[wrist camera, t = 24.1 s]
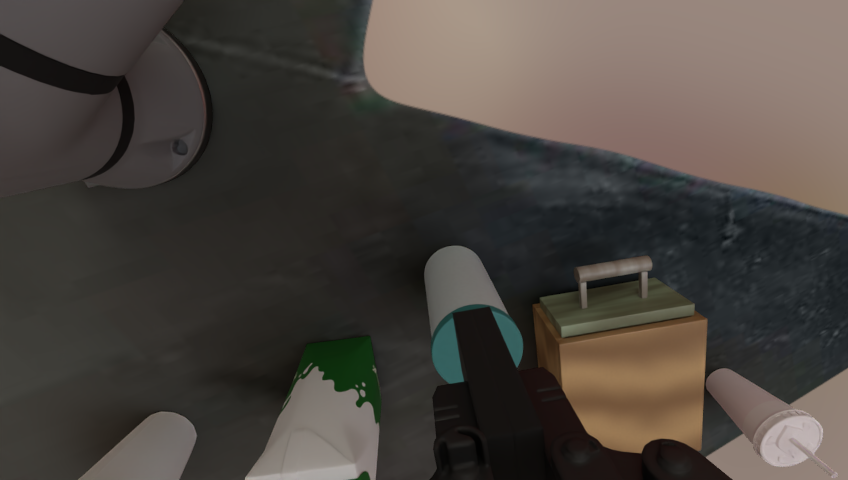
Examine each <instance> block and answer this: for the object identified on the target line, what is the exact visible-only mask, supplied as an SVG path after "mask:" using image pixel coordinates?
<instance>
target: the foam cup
mask: <svg viewBox="0 0 848 480" xmlns="http://www.w3.org/2000/svg"><path fill="white" fill-rule="evenodd" d="M196 437H197V434H196V431H195V428H194V425H193V424H192V423H191V422H190V421H189V420H188V419H187V418H186V417H184V416H181V415H179V414H177V413H174V412H163V411H161V412H158V413H155V414H152V415H150V416H149V417H148V418H146V419H145V420H144V421H143V422H142V423H140V424H139V425H138V426H137V427H136V428H135V429H134V430H133V431H132V432H130V433H129V434H128V435H127V436H126V437H125V438H124V439H123V440H122V441H121V442H119V443H118V444H117V445H116V446H115V447H114V448H113V449H112V450H111V451H109V452H108V453H107V454H106V455H105V456H104V457H103V458H102V459H101V460H99V461H98V462H97V463H96V464H95V465H94V466H93V467H92V468H91V469H90V470H88V471H87V472H86V473H85V474H84V475H83V476H82V477H81V478H80V479H78V480H179V479H180V477H181V475H182V472H183V470H184V468H185V466H186V463H187V461H188V459H189V456H190V454H191V452H192V450H193V446H194V445H195V441H196Z"/></svg>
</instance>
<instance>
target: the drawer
mask: <svg viewBox="0 0 848 480" xmlns="http://www.w3.org/2000/svg"><path fill="white" fill-rule="evenodd" d="M651 269H652V261H651V259H650V257H649V256H647V255H645V256H639V257H633V258H627V259H621V260H616V261H610V262H604V263H598V264H592V265H587V266H581V267H575V268H574V277H575V279H576V281H577V282H578V288H579V291H575V292H569V293H563V294H557V295H552V296H546V297H540V307H541V309H542V310H543V312H544V313H545V315H546V316H547V317H548V319H549V320H550V322H551V323H552V325H553V326H554V327H555V329H556V330H557V332H558V333H559V335H560V336H561V337H562V338H570V337H576V336H582V335H588V334H594V333H599V332H605V331H611V330H617V329H623V328H628V327H634V326H640V325H646V324H652V323H658V322H663V321H669V320H672V319H675V318H681V317H686V316H692V315H694V306H695V304H694V303H692V302H691V301H689V300H688V299H686V298H685V297H683V296H682V295H680V294H679V293H677V292H676V291H674V290H673V289H671V288H670V287H668V286H667V285H665V284H663V283H662V282H660V281H659V280H657V279H656V278H650V279H648V274H647V271H650V270H651ZM638 272H639V281H633V282H627V283H621V284H615V285H610V286H604V287H598V288H592V289H586V281H592V280H598V279H603V278H609V277H615V276H621V275H627V274H632V273H638Z"/></svg>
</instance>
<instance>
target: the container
mask: <svg viewBox="0 0 848 480" xmlns="http://www.w3.org/2000/svg"><path fill="white" fill-rule="evenodd" d="M424 279H425V288H426V296H427V304H428V312H429V320H430V328H431V336H432V340H431V353H432V360H433V364H434V366H435V368H436V370H437V372H438V373H439V374H440V376H441V377H442V378H443V379H445V380H446V381H447V382H448V383H450V384H452V383H458V382H464V379H463V374H462V369H461V363H460V357H459V351H458V345H457V339H456V332H455V326H454V320H453V314H452V313H454V312H460V311H466V310H472V309H478V308H483V307H489V306H490V308H491V311H492V313H493V315H494V317H495V320H496V322H497V324H498V327H499V329H500V331H501V333H502V336H503V338H504V340H505V342H506V345H507V347H508V349H509V352H510V354H511V356H512V358H513V361H514V363H515V365H516V367H518V365H519V363H520V361H521V358H522V354H523V340H522V336H521V333H520V331H519V329H518V328H517V326H516V324H515V322H514V321H513V319H512V318H511V317H510V316H509V315H508V313H507V311H506V309H505V307H504V305H503V303H502V301H501V299H500V297H499V295H498V293H497V291H496V289H495V287H494V285H493V283H492V282H491V280H490V278H489V276H488V274H487V272H486V270H485V268H484V266H483V264H482V262H481V260H480V258H479V257H478V256H477V255H476V254H475V253H474V252H473V251H472V250H470V249H468V248H466V247H462V246H448V247H444V248H442V249H440V250H438V251H437V252H435V253H434V254H433V255H432V256H431V257H430V258H429V260H428V262H427V264H426V266H425V270H424Z"/></svg>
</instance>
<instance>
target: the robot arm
mask: <svg viewBox="0 0 848 480" xmlns="http://www.w3.org/2000/svg"><path fill="white" fill-rule="evenodd" d="M183 1H184V0H0V198H3V197H8V196H13V195H17V194H22V193H26V192H31V191H35V190H40V189H44V188H49V187H54V186H58V185H63V184H67V183H72V182H76V181H83V182H85V183H86V185H87V187H88V188H90V187H95V186H99V185H103V186H108V187H114V188H126V189H139V188H147V187H151V186H155V185H159V184H162V183H165V182H168V181H171V180H173V179H175V178H177V177H179V176H181V175H182V174H184V173H185V172H186V171H188V170H189V169H190V168H191V167H192V166H193V165H194V164H195V163H196V162H197V161H198V159H199V158H200V156H201V155H202V153H203V152H204V150H205V148H206V146H207V143H208V140H209V137H210V133H211V127H212V103H211V97H210V93H209V89H208V86H207V83H206V80H205V78H204V76H203V74H202V71H201V70H200V68H199V66H198V64H197V62H196V61H195V59H194V58H193V57H192V55H191V54H190V52H189V51H188V50H187V49H186V48H185V46H184V45H183V44H182V43H181V42H180V41H179V40H178V39H177V38H176V37H175V36H173V35H172V34H171V33H170V32H169V31H167V30H166V29H165V28H163V27H164V26H165V24H166V23H167V22H168V21H169V19H170V18H171V17H172V15H173V14H174V13H175V12H176V10H177V9H178V8H179V6H180V5H181V4H182V3H183ZM452 314H453V320H454V326H455V332H456V339H457V345H458V351H459V357H460V363H461V369H462V374H463V379H464V382H458V383H452V384H446V385H441V386H437V389H436V391H435V393H434V395H433V397H432V398H433V408H434V418H435V428H436V439H435V441H434V448H433V450H434V455H435V460H436V465H437V470H436V472H435V473H434V475H433V476H432V478H431V479H430V480H732V479H731V478H730V477H728V476H727V475H726V474H725V473H724V472H722V471H721V470H720V469H719V468H717V467H716V466H715V465H714V464H712V463H711V462H710V461H709V460H708V459H706V458H705V457H704V456H703V455H701V454H700V453H699V452H698V451H696V450H695V449H693V448H692V447H690V446H688V445H687V444H685V443H682V442H679V441H676V440H673V439H662V438H661V439H656V440H651V441H650V442H649V443H647V444H646V445H644V448H643V451H642V453H632V452H622V451H617V450H612V449H609V448H607V447H604V446H603V445H602V444H601V443H600V442H599V441H598V439H596V438H594V437H593V436H591V435H589V434H588V433H587V432H586V430H585V428H584V426H583V425H582V423H581V421H580V419H579V418H578V416H577V414H576V412H575V411H574V409H573V407H572V405H571V404H570V402H569V400H568V398H566V395H565V393H564V391H563V390H562V389H561V386H560V384H559V383H558V381H557V379H556V377H555V376H554V375H553V374H552V373H550V372H549V371H548V370H546V369H545V368H544V367H539V368H533V369H527V370H522V371H518V370H517V367H516V365H515V363H514V361H513V358H512V356H511V354H510V352H509V349H508V347H507V345H506V342H505V340H504V338H503V336H502V333H501V331H500V329H499V327H498V324H497V322H496V320H495V317H494V315H493V313H492V311H491V308H490V306H489V307H483V308H478V309H472V310H466V311H460V312H454V313H452Z"/></svg>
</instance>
